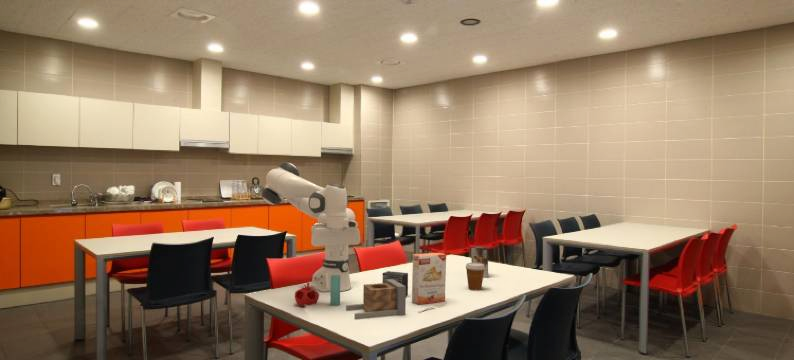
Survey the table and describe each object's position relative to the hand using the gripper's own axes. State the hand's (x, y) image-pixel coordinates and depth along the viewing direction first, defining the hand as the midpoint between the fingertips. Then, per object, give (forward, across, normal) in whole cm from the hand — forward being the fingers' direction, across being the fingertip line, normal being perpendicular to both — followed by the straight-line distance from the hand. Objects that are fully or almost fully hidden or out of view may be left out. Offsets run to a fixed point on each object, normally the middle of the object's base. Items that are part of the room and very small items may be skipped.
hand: (335, 256), depth 201 cm
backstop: (+21, +9, -16) cm, 28 cm away
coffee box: (+22, +90, +36) cm, 99 cm away
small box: (+22, +31, +10) cm, 39 cm away
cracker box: (+21, +40, -5) cm, 46 cm away
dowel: (+21, 0, 0) cm, 21 cm away
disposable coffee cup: (+22, +72, +10) cm, 76 cm away
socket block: (+20, +14, -16) cm, 29 cm away
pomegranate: (+21, -10, +8) cm, 25 cm away
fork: (+22, +34, -16) cm, 43 cm away
